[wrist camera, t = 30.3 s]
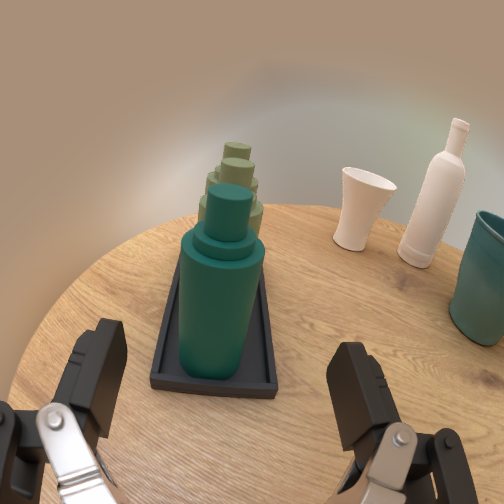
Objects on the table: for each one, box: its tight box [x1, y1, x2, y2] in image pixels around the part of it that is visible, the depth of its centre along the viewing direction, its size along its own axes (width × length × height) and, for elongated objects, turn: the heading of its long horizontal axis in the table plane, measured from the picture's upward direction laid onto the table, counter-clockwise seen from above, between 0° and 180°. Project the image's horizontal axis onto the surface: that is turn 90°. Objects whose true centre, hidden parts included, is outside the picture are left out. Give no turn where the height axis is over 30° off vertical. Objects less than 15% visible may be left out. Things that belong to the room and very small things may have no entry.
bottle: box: [397, 118, 470, 268], centre depth 48 cm, size 8×8×30 cm
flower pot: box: [449, 210, 504, 346], centre depth 35 cm, size 18×18×17 cm
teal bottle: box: [179, 183, 265, 381], centre depth 24 cm, size 6×6×17 cm
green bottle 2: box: [198, 158, 264, 238], centre depth 30 cm, size 6×6×17 cm
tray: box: [150, 252, 278, 399], centre depth 34 cm, size 23×11×2 cm, turn 3°
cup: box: [333, 167, 397, 251], centre depth 53 cm, size 10×10×14 cm
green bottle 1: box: [205, 142, 258, 194], centre depth 37 cm, size 6×6×17 cm
